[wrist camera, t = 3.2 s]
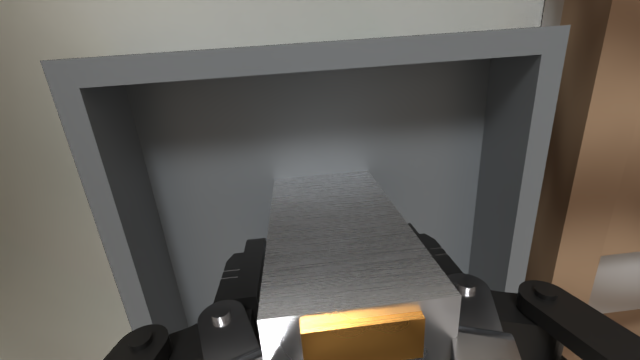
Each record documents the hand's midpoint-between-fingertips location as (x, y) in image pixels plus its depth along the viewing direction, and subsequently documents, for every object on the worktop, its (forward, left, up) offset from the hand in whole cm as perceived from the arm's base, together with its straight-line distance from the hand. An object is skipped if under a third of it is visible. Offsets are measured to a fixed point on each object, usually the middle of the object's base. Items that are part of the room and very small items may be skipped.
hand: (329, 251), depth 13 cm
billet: (0, 0, -2) cm, 2 cm away
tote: (0, 0, -2) cm, 2 cm away
